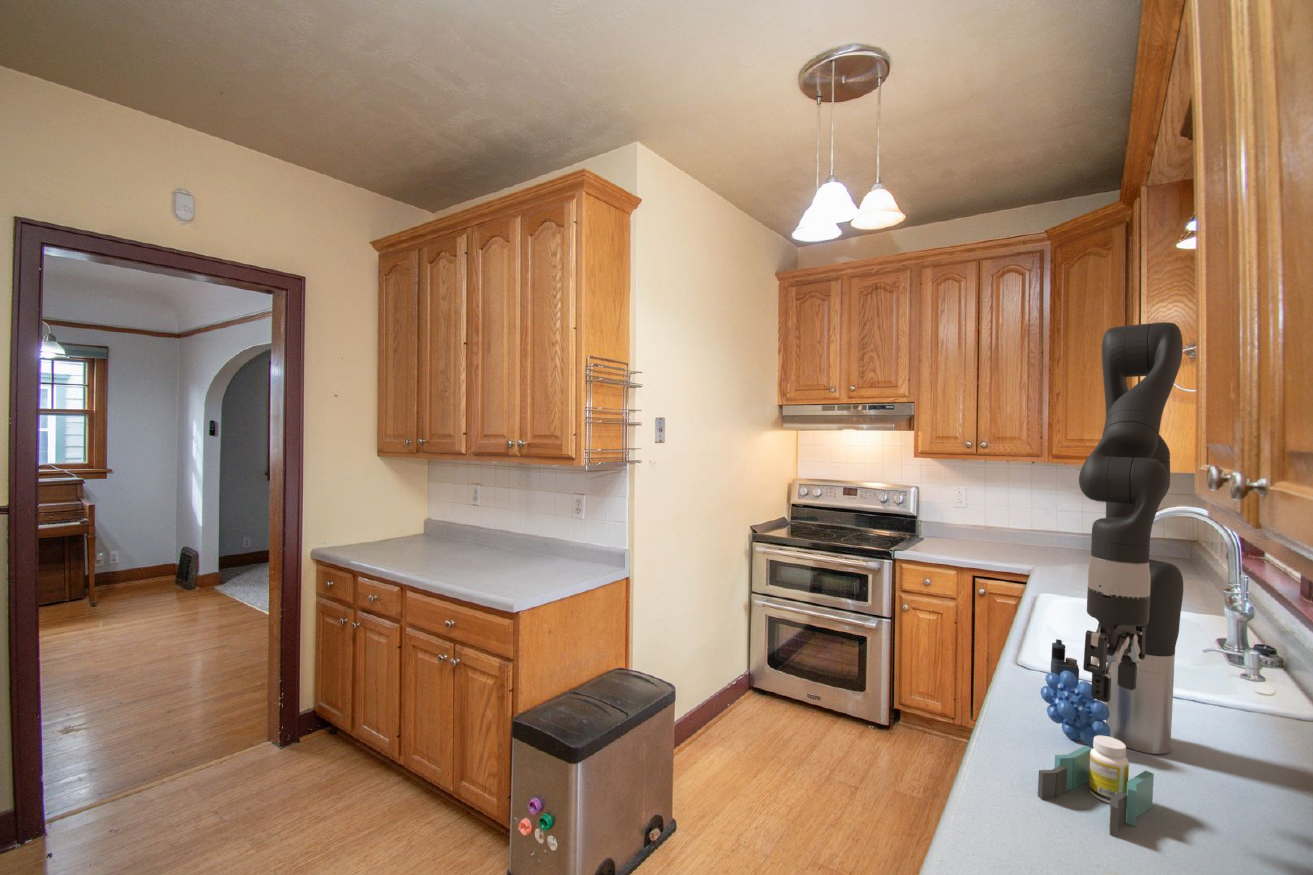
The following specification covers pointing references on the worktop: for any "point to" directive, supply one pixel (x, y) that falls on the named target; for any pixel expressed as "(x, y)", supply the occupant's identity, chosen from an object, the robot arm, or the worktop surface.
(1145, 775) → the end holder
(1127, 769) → the supplement bottle
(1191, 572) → the worktop surface
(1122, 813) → the pair of grey blocks
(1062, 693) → the grapes
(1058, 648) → the vaping device
